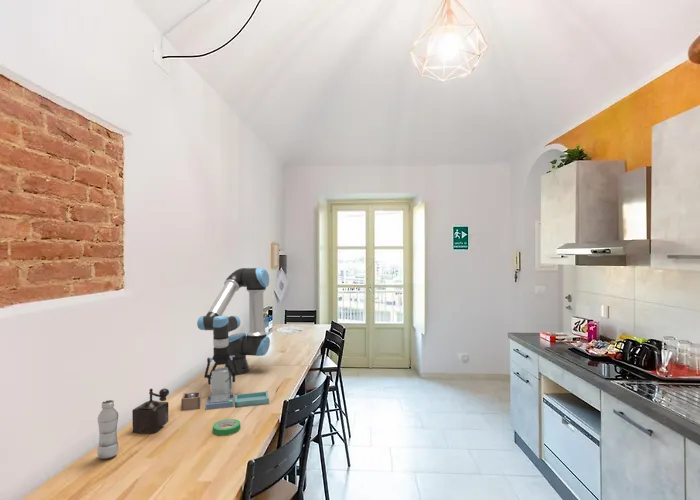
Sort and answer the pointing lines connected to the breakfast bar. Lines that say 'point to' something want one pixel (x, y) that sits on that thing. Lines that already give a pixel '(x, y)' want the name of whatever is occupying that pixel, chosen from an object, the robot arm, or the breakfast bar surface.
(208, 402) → the base
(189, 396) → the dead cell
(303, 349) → the breakfast bar surface
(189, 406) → the brown open box
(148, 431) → the manual coffee grinder
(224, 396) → the checker plate
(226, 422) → the tape roll
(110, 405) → the plastic bottle
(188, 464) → the breakfast bar surface
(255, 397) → the teal shallow tray
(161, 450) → the breakfast bar surface
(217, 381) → the supplement box
